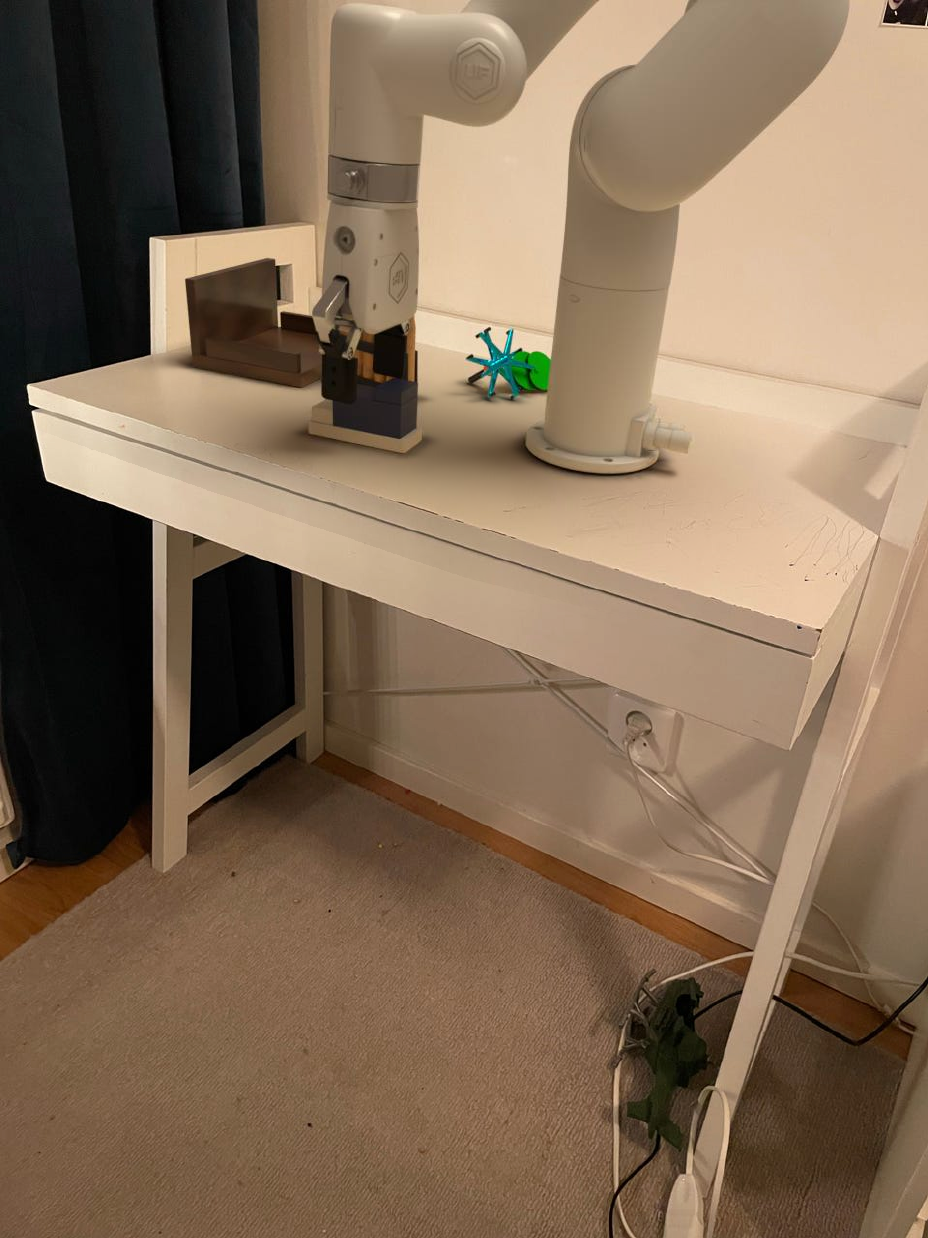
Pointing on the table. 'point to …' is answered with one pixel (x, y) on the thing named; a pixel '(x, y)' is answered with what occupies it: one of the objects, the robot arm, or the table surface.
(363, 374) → the ammunition clip
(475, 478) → the table surface
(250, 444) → the table surface
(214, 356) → the wooden book end
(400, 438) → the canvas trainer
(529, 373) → the stick construction toy
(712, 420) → the table surface
